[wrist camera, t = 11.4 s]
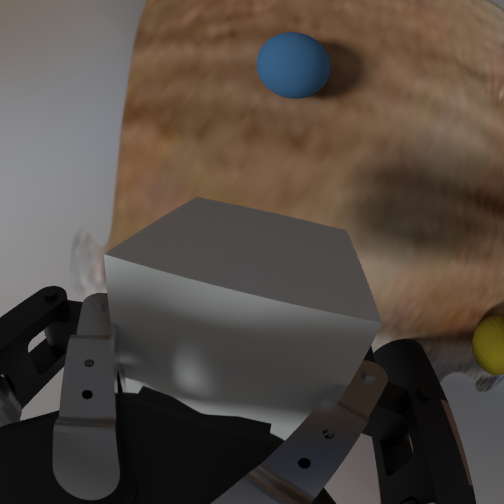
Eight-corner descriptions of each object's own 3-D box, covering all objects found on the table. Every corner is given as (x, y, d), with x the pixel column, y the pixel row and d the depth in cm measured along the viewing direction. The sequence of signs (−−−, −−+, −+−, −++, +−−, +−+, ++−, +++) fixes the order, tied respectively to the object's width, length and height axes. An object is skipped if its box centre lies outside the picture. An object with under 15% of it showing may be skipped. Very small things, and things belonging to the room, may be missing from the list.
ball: (340, 37, 13) (327, 109, 16) (330, 42, 17) (320, 100, 20) (256, 23, 13) (247, 96, 16) (265, 32, 17) (257, 89, 20)
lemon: (459, 318, 24) (490, 367, 17) (497, 293, 22) (534, 335, 15) (464, 350, 25) (489, 397, 18) (499, 327, 23) (529, 369, 16)
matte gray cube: (346, 230, 12) (382, 322, 6) (306, 348, 15) (298, 458, 9) (196, 196, 13) (104, 254, 6) (185, 318, 15) (128, 410, 9)
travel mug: (389, 393, 29) (411, 541, 11) (348, 370, 28) (358, 547, 10) (437, 354, 26) (490, 506, 8) (400, 325, 25) (457, 513, 7)
